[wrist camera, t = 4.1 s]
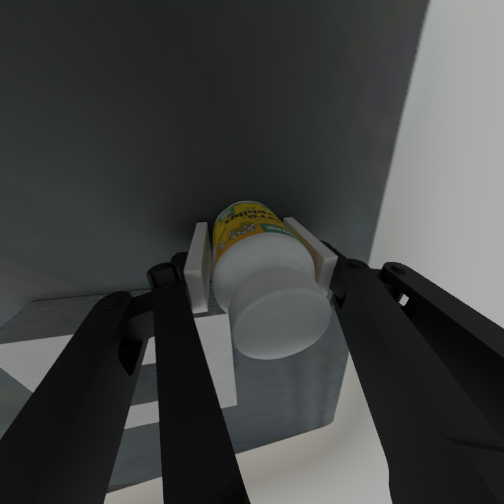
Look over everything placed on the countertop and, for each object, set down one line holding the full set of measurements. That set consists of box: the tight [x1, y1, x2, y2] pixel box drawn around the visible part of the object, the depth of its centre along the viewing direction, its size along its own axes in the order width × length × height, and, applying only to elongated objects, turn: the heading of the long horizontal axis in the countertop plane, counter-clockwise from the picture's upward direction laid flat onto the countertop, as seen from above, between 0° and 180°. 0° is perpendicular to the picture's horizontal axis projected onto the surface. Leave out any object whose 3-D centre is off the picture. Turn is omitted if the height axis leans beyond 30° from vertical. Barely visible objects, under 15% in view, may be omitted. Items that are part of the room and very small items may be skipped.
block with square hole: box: [0, 282, 237, 429], centre depth 18 cm, size 16×16×4 cm
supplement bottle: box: [212, 201, 332, 359], centre depth 11 cm, size 5×5×10 cm
